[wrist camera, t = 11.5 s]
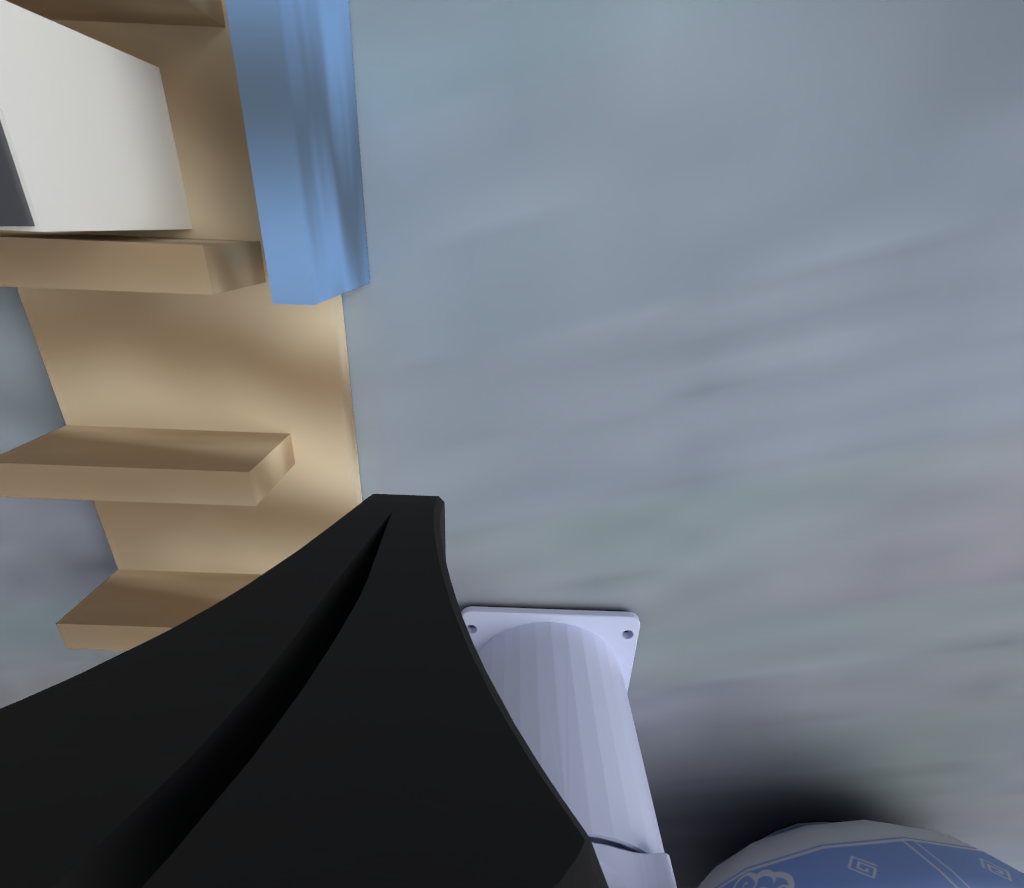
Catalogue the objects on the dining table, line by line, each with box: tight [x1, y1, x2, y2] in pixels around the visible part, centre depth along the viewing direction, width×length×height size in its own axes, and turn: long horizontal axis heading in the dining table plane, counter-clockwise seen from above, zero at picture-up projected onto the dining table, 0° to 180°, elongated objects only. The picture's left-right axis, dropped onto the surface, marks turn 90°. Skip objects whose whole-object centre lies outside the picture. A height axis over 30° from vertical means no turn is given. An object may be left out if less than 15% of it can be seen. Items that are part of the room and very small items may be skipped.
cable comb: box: [0, 0, 370, 651], centre depth 15 cm, size 20×11×5 cm, turn 178°
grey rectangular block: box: [0, 0, 193, 232], centre depth 11 cm, size 4×4×6 cm
